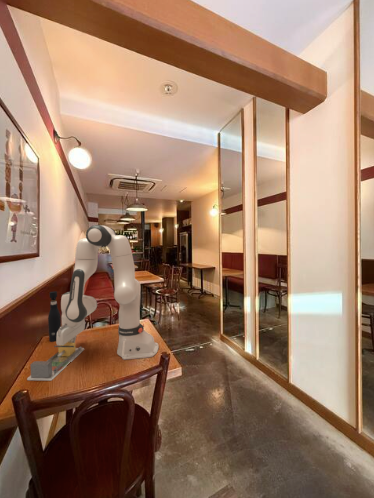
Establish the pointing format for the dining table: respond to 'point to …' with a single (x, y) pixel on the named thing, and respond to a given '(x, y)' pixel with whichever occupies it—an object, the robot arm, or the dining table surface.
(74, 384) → the dining table surface
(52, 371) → the track
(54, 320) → the wine bottle
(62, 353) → the block
